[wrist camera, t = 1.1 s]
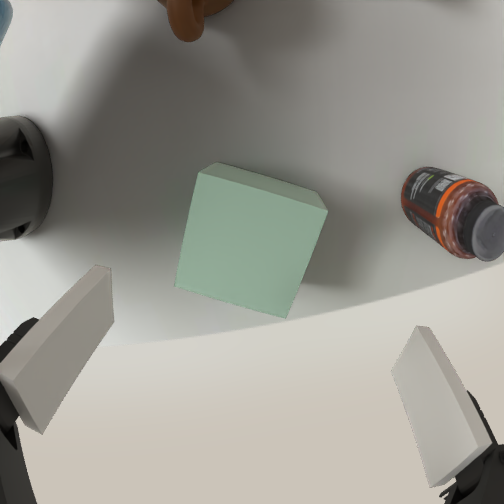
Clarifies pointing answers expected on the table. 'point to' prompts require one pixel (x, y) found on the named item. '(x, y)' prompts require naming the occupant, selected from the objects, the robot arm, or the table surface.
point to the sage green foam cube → (248, 238)
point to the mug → (191, 16)
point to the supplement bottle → (455, 213)
